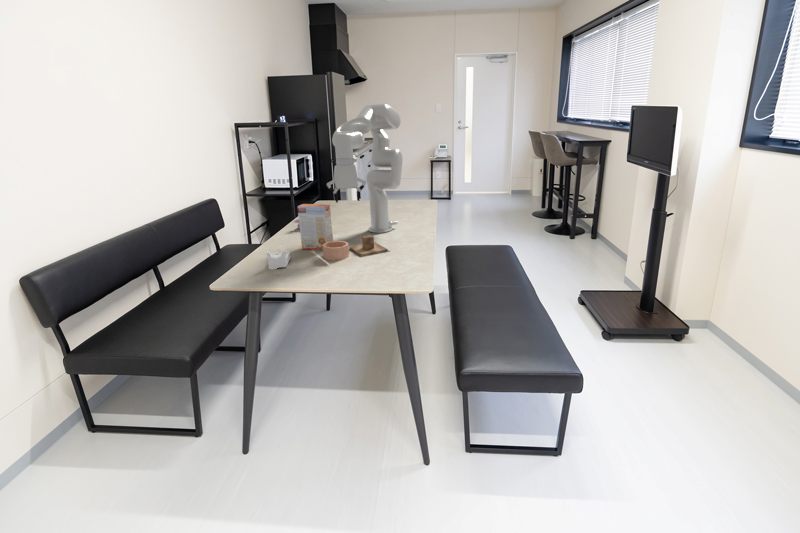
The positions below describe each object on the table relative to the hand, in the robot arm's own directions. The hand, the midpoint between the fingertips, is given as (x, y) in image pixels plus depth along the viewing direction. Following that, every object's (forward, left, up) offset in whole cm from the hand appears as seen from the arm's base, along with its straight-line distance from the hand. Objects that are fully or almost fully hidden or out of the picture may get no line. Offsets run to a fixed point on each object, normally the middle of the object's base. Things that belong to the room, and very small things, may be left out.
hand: (347, 201), depth 209 cm
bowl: (+10, +7, -23) cm, 26 cm away
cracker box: (+12, -11, -23) cm, 28 cm away
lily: (+6, -52, -23) cm, 57 cm away
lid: (-6, +7, -22) cm, 24 cm away
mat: (-6, +7, -23) cm, 24 cm away
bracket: (+33, +1, -23) cm, 41 cm away
